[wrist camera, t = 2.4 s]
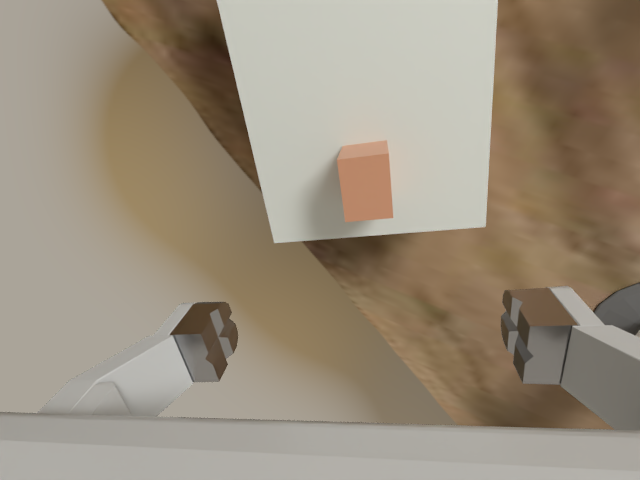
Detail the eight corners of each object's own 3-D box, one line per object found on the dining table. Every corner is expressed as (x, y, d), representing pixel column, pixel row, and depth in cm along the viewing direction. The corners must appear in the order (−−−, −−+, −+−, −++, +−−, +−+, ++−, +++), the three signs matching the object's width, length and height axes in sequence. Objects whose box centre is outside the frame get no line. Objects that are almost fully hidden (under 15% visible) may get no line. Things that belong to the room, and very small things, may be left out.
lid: (197, -110, 20) (145, -162, 15) (502, -203, 16) (549, -302, 12) (277, 237, 29) (259, 268, 24) (481, 221, 26) (503, 253, 21)
